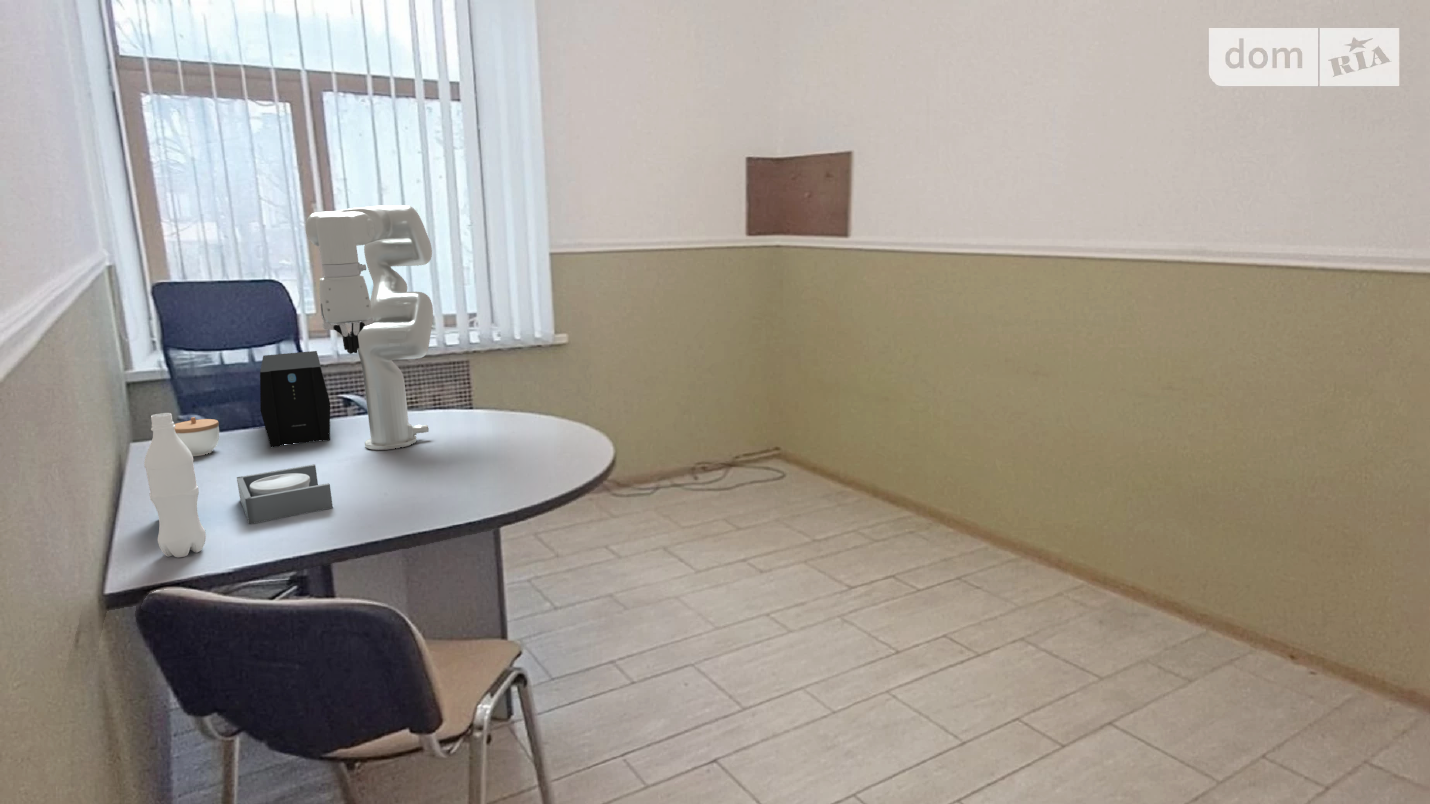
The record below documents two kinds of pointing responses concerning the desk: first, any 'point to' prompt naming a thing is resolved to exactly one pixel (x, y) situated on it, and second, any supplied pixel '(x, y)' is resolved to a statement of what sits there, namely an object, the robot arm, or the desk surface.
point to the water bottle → (173, 489)
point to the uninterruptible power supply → (294, 398)
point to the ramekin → (279, 483)
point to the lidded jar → (198, 435)
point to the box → (284, 497)
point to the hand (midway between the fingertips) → (352, 352)
